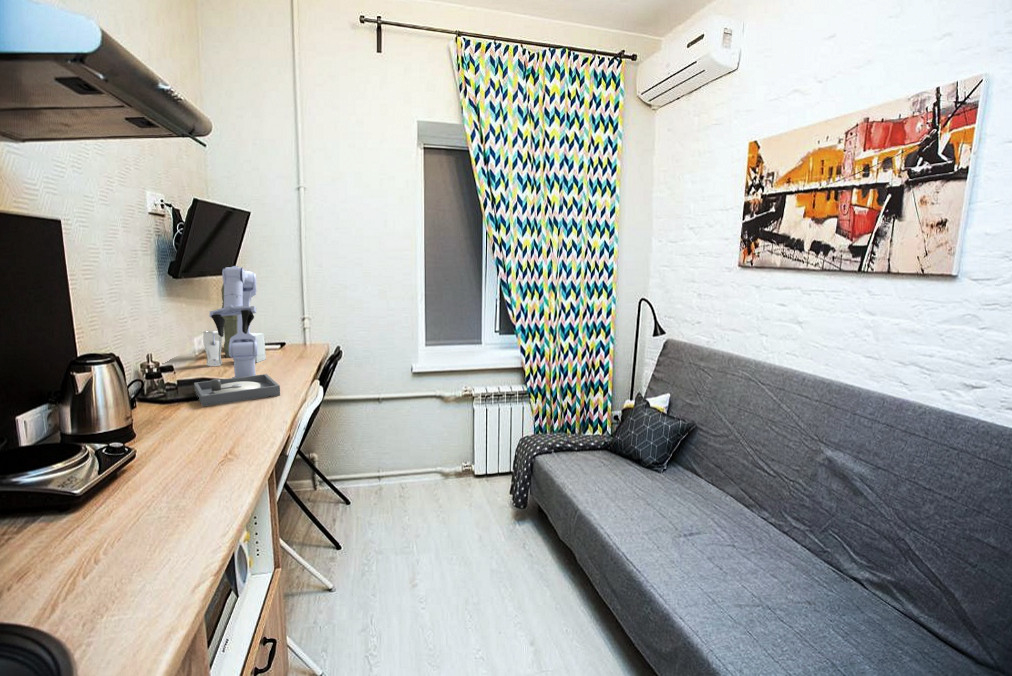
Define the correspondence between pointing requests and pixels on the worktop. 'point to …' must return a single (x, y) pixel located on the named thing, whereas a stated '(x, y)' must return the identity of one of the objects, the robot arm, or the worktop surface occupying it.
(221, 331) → the robot arm
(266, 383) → the bezel plate
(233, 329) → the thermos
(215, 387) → the dial
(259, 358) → the supplement box
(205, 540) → the worktop surface
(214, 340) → the beer glass
